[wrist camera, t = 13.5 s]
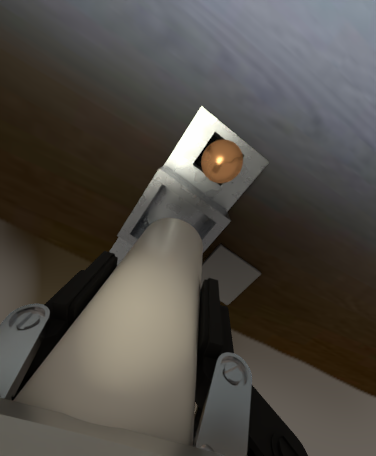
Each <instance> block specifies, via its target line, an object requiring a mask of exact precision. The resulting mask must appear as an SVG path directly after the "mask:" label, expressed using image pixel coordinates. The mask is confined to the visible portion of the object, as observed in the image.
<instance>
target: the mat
mask: <svg viewBox="0 0 376 456" xmlns="http://www.w3.org/2000/svg"><path fill="white" fill-rule="evenodd" d="M260 275H261V272H260V271H259V270H257V269H256V268H254V267H253V266H251V265H250V264H249V263H247V262H246V261H244V260H243V259H241V258H240V257H239V256H237V255H236V254H234V253H233V252H231V251H230V250H229V249H227V248H226V247H224V246H223V245H221V244H219V245H218V247H217V248H216V249H215V250H214V251H213V252H212V253H211V254H210V256H209V257H208V258H207V259H206V260H205V261H204V262H203V263H202V273H201V288H202V284H203V281H204V279H206V280H208V278H212V279H216V280H218V283H219V296H220V301H221V302H223V303H225V304H226V305H228V304H230V303H231V302H232V301H233V300H234V299H235V298H236V297H237V296H238V295H239V294H240V293H241V292H242V291H243V290H245V289H246V288H247V287H248V286H249V285H250V284H251V283H252V282H253V281H254V280H255V279H256V278H257V277H259V276H260Z"/></svg>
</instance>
